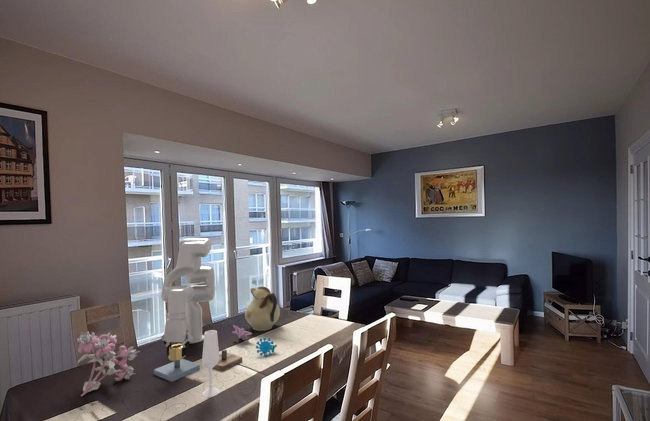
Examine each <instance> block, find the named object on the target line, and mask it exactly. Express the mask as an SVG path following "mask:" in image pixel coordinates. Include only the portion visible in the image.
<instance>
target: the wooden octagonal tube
mask: <svg viewBox="0 0 650 421" xmlns="http://www.w3.org/2000/svg"><path fill="white" fill-rule="evenodd" d="M171 345H172V346H170V347H169V356H168V360H169V361H172V362H174V361H175V360H180V359H184V358H185V357H186V355H185V356H184V357H182V348H183V346H182V343H176V344H171Z"/></svg>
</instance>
